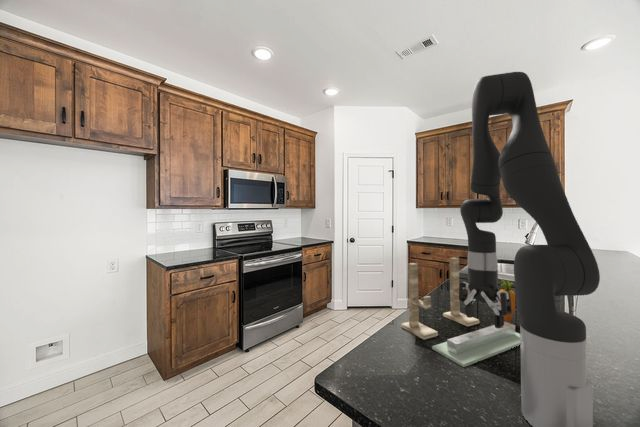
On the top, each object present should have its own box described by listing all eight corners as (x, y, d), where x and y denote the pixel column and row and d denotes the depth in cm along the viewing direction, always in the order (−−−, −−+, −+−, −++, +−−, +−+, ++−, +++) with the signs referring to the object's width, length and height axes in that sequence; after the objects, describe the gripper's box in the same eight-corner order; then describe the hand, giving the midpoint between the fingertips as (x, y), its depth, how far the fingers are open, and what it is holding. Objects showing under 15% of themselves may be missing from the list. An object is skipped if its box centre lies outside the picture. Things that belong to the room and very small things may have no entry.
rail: (515, 334, 82) (515, 325, 82) (456, 355, 71) (456, 344, 71) (505, 330, 84) (505, 321, 84) (447, 350, 74) (447, 339, 74)
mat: (531, 340, 79) (531, 338, 79) (463, 367, 67) (463, 364, 67) (497, 327, 89) (497, 325, 89) (432, 348, 76) (432, 346, 76)
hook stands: (479, 323, 92) (478, 260, 92) (423, 339, 82) (422, 268, 81) (454, 313, 101) (453, 256, 101) (401, 327, 91) (400, 263, 90)
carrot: (519, 326, 89) (518, 281, 89) (502, 325, 90) (502, 281, 90) (511, 320, 94) (511, 278, 94) (496, 319, 95) (495, 277, 95)
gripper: (452, 264, 82) (453, 316, 82) (499, 272, 69) (500, 334, 69) (468, 262, 86) (469, 312, 85) (516, 269, 73) (518, 329, 72)
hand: (483, 322), depth 77 cm, fingers open, 8 cm apart
